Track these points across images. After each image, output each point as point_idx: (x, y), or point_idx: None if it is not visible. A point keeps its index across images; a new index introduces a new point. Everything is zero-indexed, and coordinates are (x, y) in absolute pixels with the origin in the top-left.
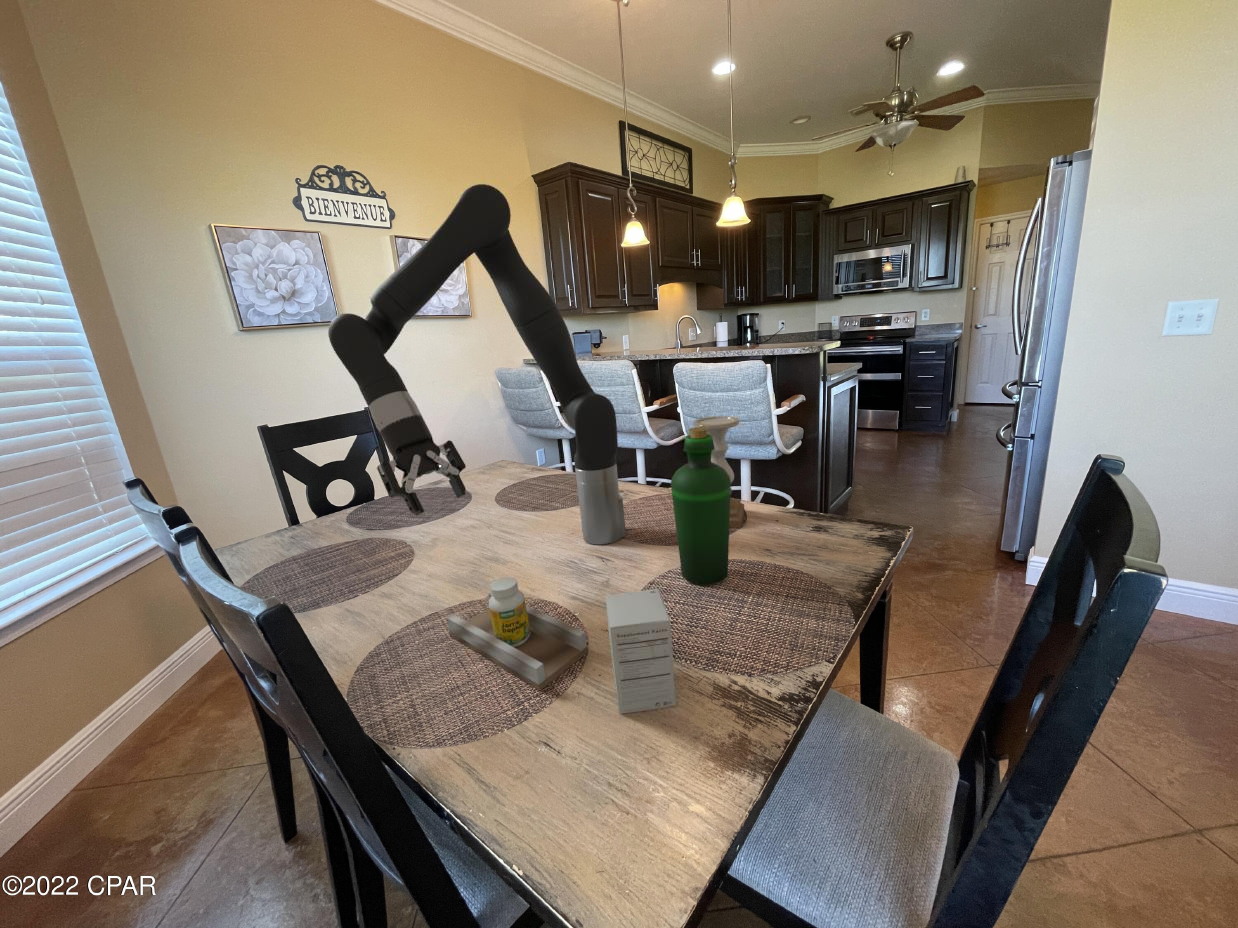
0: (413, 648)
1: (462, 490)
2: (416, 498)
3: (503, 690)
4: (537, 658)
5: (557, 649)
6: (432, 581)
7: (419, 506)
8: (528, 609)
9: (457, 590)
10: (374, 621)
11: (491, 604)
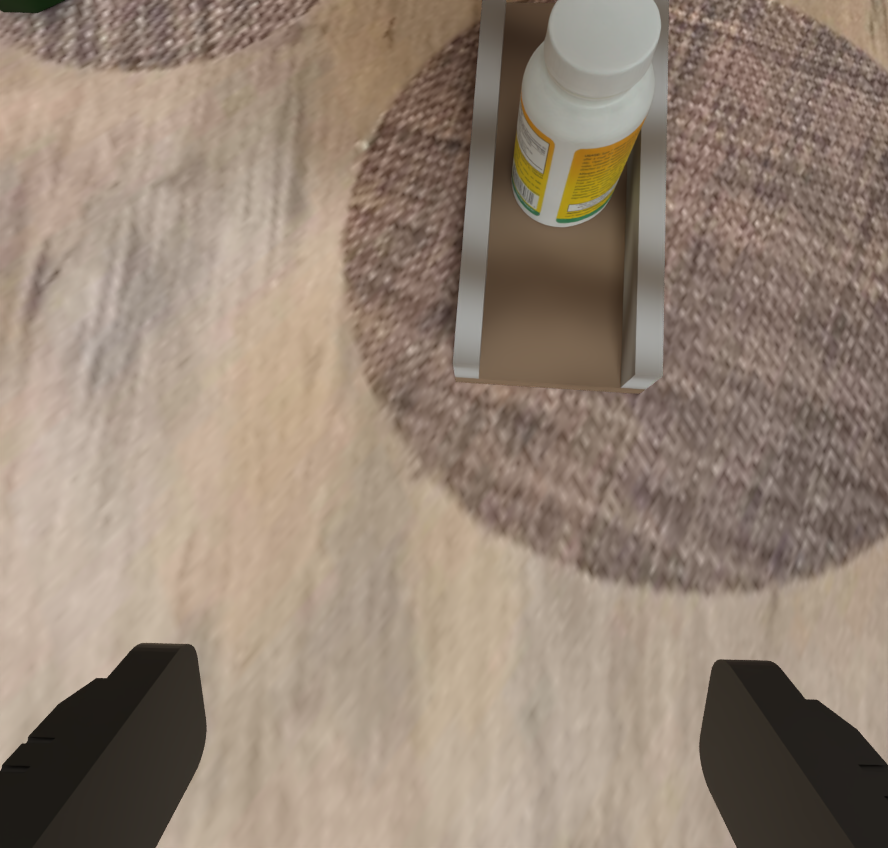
0: (743, 446)
1: (141, 666)
2: (855, 810)
3: (696, 88)
4: None
5: (532, 53)
6: (444, 808)
7: (789, 702)
8: (481, 166)
9: (442, 627)
10: None
11: (653, 83)
